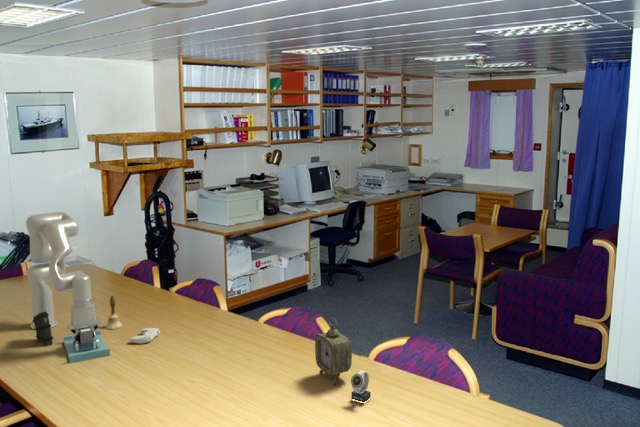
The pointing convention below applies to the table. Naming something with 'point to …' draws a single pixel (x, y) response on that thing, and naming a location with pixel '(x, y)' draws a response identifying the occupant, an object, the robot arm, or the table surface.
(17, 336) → the table surface
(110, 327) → the hand bell
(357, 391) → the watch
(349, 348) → the tabletop clock
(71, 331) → the robot arm
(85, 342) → the block
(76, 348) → the pin tray
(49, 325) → the black stepped block
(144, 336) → the game controller
